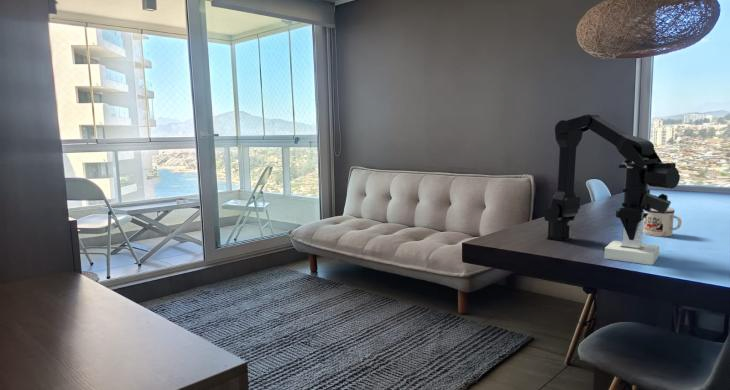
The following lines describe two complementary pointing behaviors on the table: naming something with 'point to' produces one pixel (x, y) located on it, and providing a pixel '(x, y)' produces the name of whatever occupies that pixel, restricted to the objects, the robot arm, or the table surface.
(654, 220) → the teacup with lid
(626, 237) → the keyed peg
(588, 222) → the table surface
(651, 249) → the hub block
